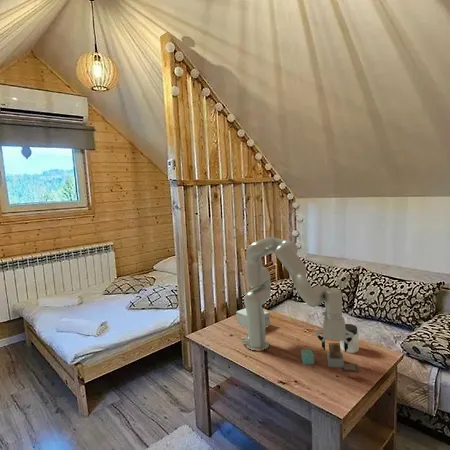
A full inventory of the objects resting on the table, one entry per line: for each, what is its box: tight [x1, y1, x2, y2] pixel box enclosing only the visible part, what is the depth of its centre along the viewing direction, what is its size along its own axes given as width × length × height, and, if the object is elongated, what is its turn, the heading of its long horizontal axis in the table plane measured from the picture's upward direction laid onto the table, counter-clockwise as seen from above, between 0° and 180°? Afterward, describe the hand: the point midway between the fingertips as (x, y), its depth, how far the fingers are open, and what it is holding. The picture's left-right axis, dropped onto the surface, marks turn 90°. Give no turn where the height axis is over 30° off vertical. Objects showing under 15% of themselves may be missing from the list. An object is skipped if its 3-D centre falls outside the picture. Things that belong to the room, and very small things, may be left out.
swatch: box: [341, 362, 360, 373], centre depth 152 cm, size 7×7×1 cm
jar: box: [339, 323, 360, 354], centre depth 169 cm, size 9×8×12 cm
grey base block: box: [326, 351, 345, 368], centre depth 157 cm, size 7×7×4 cm
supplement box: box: [236, 307, 271, 328], centre depth 206 cm, size 17×13×9 cm
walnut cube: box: [328, 342, 342, 358], centre depth 156 cm, size 5×5×5 cm
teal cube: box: [300, 349, 315, 365], centre depth 160 cm, size 5×5×5 cm
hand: (334, 349), depth 156 cm, fingers open, 9 cm apart
